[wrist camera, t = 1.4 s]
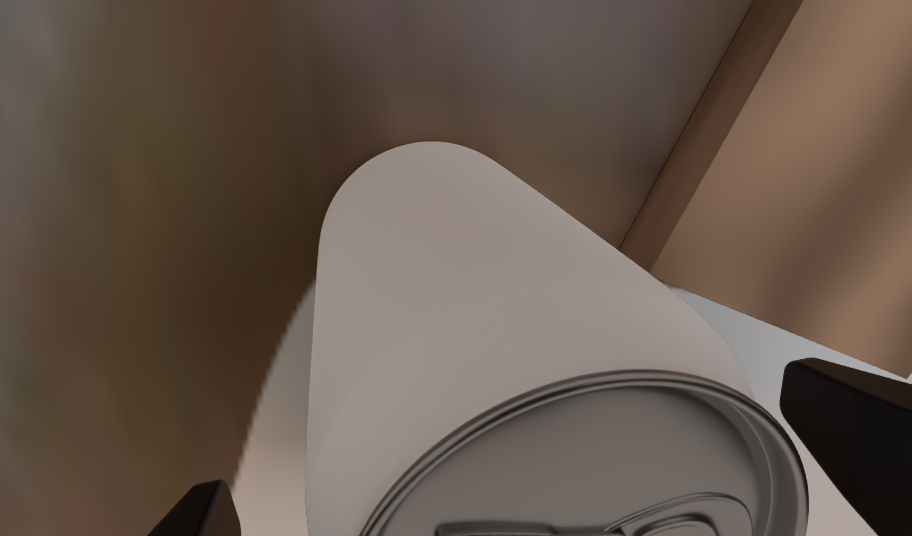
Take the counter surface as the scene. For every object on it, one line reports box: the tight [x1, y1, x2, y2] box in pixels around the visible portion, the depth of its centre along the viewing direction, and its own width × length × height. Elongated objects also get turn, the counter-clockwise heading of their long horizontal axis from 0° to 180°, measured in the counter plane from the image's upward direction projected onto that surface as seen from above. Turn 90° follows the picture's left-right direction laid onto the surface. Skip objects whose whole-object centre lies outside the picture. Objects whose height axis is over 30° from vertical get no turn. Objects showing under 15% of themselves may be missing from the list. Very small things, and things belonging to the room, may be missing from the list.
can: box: [305, 142, 809, 536], centre depth 12 cm, size 6×6×12 cm
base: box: [619, 0, 912, 379], centre depth 18 cm, size 12×12×2 cm
